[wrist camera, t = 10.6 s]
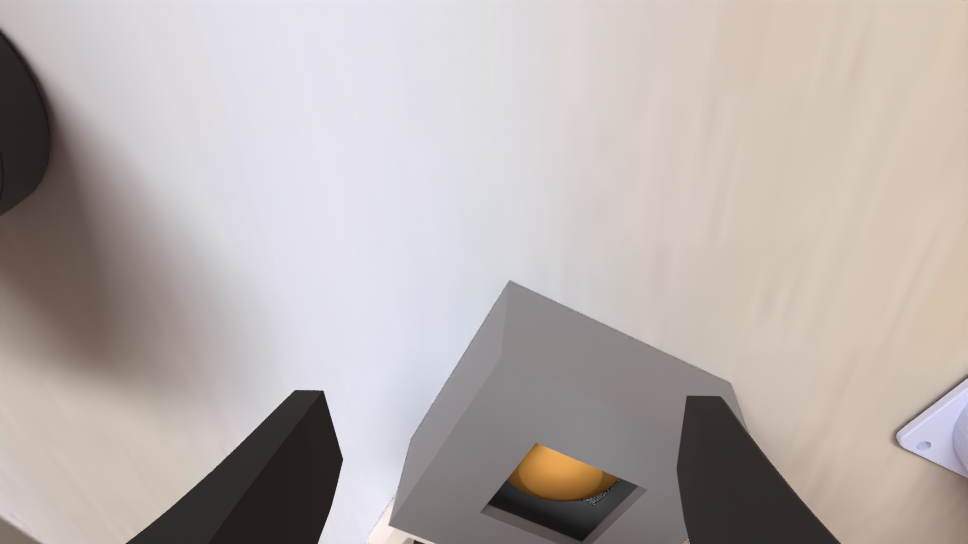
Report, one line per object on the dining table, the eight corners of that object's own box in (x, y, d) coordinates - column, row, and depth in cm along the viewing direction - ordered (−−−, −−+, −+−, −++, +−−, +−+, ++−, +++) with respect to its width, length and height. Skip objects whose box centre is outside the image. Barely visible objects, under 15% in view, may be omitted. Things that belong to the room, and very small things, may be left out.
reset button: (647, 430, 23) (652, 459, 22) (581, 500, 26) (583, 529, 25) (535, 381, 23) (534, 407, 21) (478, 458, 25) (475, 485, 24)
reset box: (730, 383, 24) (763, 473, 20) (598, 515, 29) (605, 607, 25) (509, 280, 22) (500, 358, 19) (410, 439, 28) (388, 525, 24)
